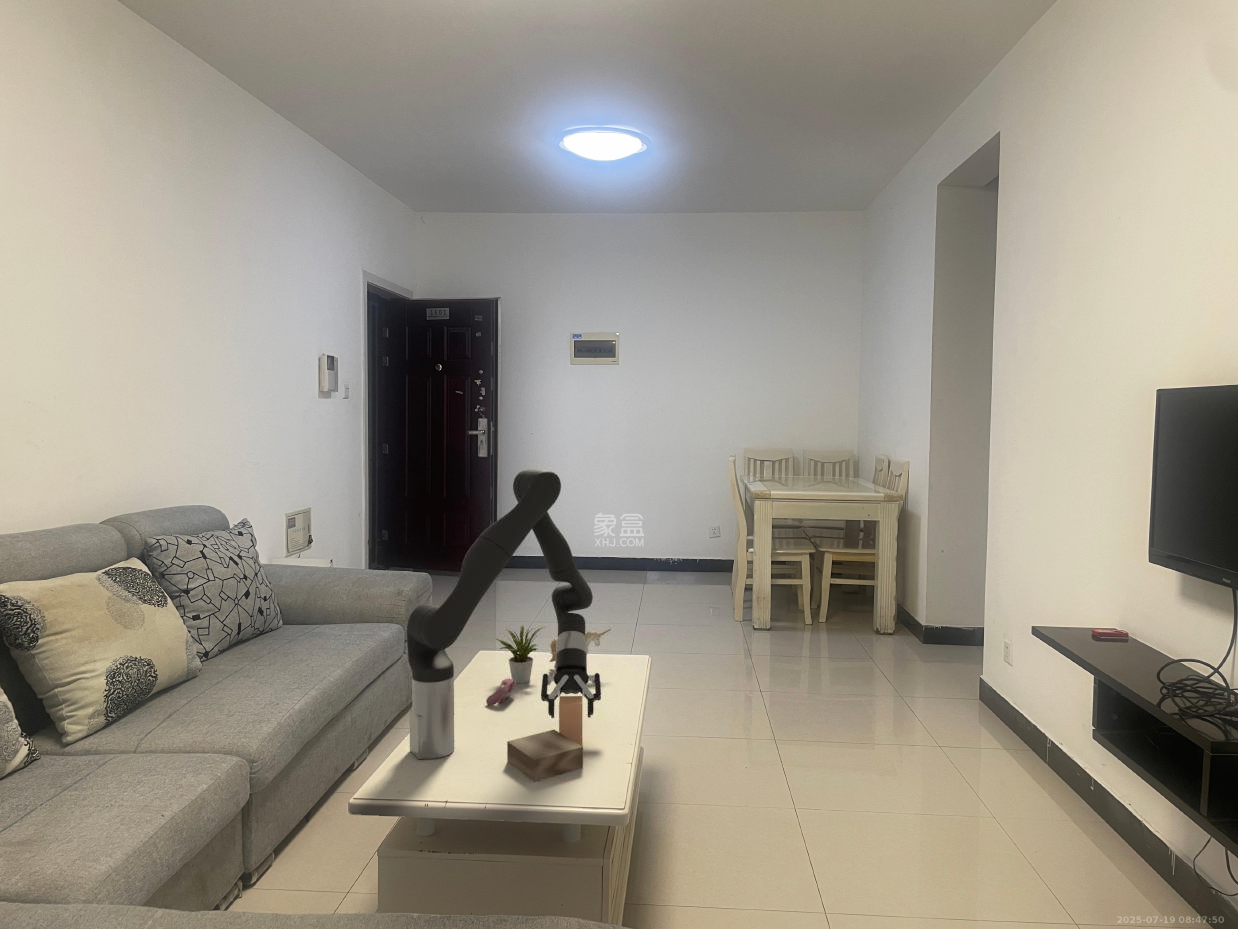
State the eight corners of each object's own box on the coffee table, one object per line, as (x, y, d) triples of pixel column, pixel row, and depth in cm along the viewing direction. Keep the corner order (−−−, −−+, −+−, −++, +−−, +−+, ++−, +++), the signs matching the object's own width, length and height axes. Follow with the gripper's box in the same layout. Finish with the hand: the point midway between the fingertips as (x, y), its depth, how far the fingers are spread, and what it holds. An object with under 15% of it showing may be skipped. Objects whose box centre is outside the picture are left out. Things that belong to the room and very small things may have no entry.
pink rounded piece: (498, 712, 209) (509, 690, 208) (483, 704, 210) (495, 681, 209) (510, 700, 219) (521, 678, 218) (496, 691, 220) (507, 670, 219)
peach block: (559, 746, 183) (559, 704, 183) (559, 737, 188) (559, 696, 188) (582, 746, 183) (582, 704, 183) (582, 737, 189) (582, 696, 188)
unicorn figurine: (604, 679, 232) (605, 634, 231) (542, 674, 237) (542, 629, 236) (611, 672, 239) (611, 628, 238) (550, 667, 244) (550, 624, 243)
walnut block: (534, 783, 165) (534, 760, 165) (507, 763, 175) (507, 741, 174) (582, 769, 172) (582, 746, 172) (554, 751, 182) (554, 729, 181)
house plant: (532, 668, 242) (532, 615, 241) (557, 680, 231) (557, 624, 230) (490, 677, 233) (490, 622, 233) (514, 690, 222) (514, 632, 222)
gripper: (542, 646, 193) (539, 710, 182) (600, 646, 194) (601, 709, 183) (543, 661, 199) (541, 724, 188) (599, 661, 200) (601, 723, 189)
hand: (571, 716), depth 186 cm, fingers open, 8 cm apart
